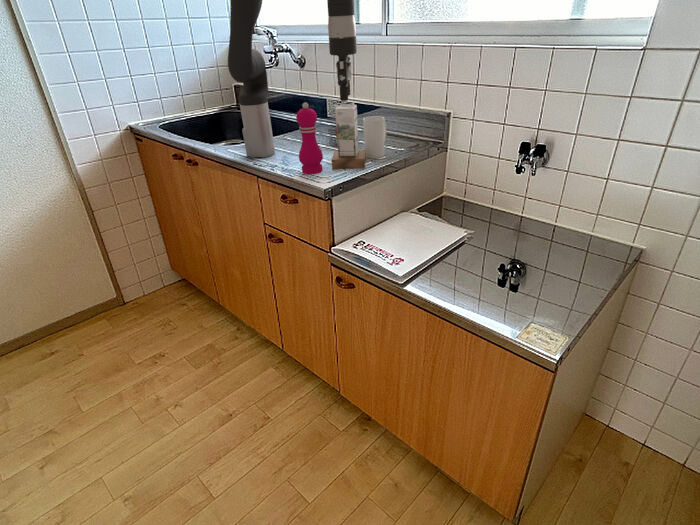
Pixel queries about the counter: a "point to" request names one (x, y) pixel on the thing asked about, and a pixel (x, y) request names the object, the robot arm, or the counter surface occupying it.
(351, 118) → the syrup box
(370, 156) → the mug
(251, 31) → the robot arm
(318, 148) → the pepper mill
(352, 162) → the walnut base
